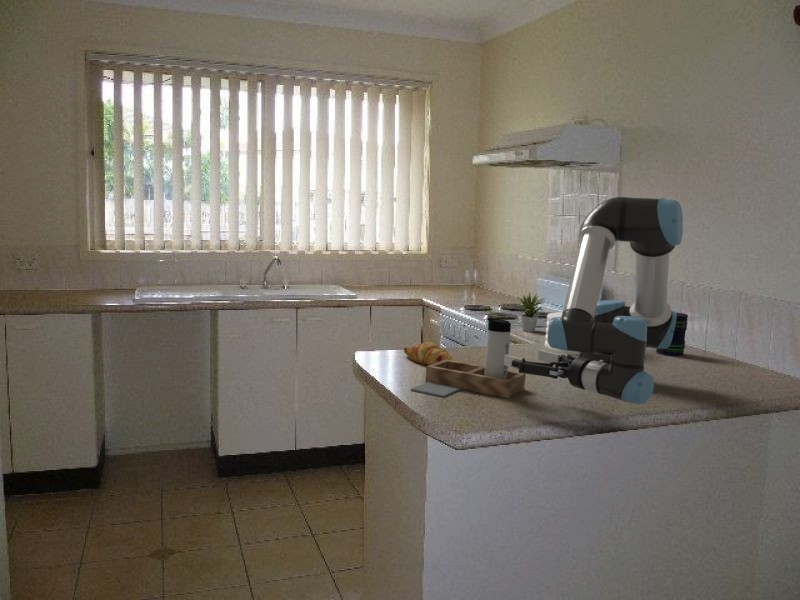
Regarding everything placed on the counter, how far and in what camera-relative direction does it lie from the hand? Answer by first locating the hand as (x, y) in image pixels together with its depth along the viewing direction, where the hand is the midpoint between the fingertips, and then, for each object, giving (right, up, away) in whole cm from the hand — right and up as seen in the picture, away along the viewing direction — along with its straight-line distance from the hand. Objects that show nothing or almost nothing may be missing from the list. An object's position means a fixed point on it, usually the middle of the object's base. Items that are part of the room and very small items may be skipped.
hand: (522, 357), depth 186 cm
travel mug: (-6, -10, +9) cm, 14 cm away
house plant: (+21, +2, +104) cm, 107 cm away
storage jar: (+67, -5, +73) cm, 99 cm away
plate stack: (+35, -3, +75) cm, 83 cm away
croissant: (-23, -5, +37) cm, 45 cm away
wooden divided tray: (-11, -9, +11) cm, 18 cm away
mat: (-23, -9, +4) cm, 25 cm away
